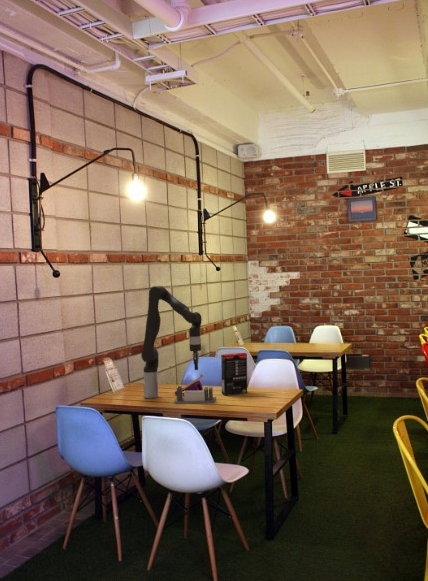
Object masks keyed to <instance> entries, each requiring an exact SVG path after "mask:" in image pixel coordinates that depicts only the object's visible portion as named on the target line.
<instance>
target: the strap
mask: <svg viewBox="0 0 428 581" xmlns="http://www.w3.org/2000/svg"><path fill="white" fill-rule="evenodd" d="M203 377H204V375H203V373H200V374H199V377H197V378H196V379H194V380H192V381H191V382H190V383H188V384H187V385H185V386H184V387H182V389H181V391H182V390H184V389H185V388H187V387H188V386H190V385H191V384H193V383H194V382H196V381H198V380H201V379H203Z"/></svg>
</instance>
